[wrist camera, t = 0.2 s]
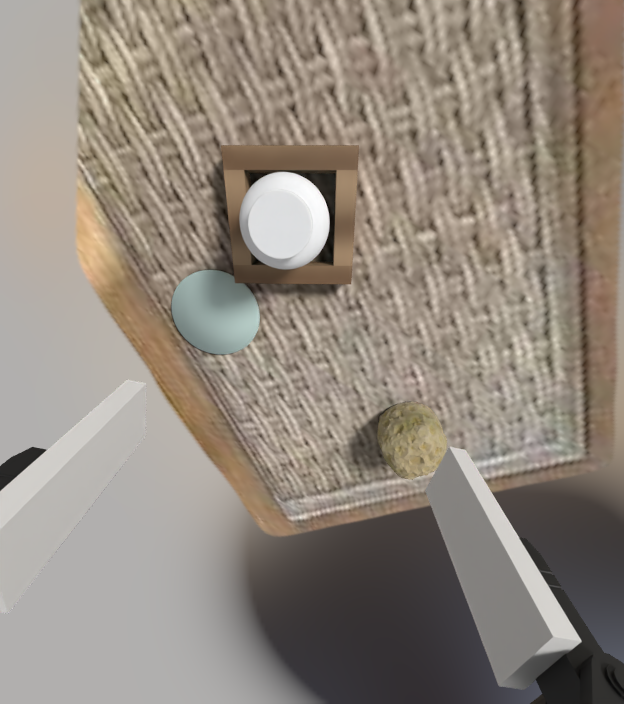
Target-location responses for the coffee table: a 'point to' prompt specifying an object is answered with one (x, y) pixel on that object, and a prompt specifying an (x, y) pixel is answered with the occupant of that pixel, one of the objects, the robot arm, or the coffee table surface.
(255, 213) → the pill bottle
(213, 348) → the coaster
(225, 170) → the walnut frame
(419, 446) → the decorative object
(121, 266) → the coffee table surface
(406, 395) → the coffee table surface
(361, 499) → the coffee table surface
